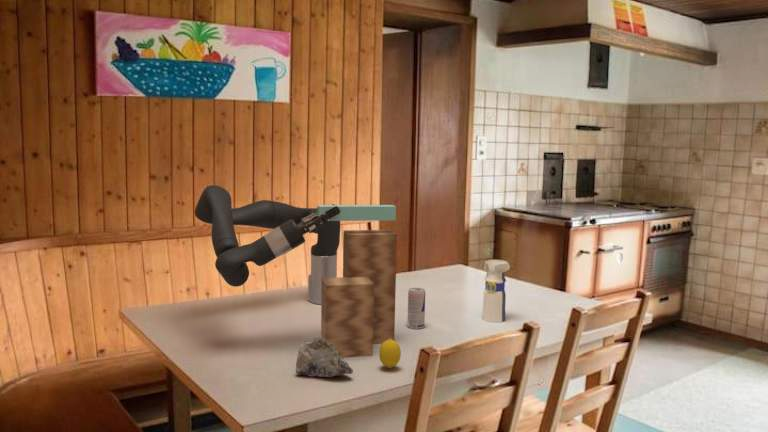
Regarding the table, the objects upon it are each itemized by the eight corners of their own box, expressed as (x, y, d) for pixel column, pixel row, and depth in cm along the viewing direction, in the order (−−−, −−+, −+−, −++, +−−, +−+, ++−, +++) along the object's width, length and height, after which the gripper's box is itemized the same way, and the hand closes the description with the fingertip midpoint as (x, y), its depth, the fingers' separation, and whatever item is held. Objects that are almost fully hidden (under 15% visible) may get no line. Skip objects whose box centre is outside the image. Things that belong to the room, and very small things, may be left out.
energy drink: (426, 325, 209) (427, 288, 207) (421, 330, 204) (422, 292, 202) (410, 323, 210) (411, 286, 209) (405, 328, 205) (406, 290, 204)
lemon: (378, 364, 173) (378, 335, 172) (399, 364, 173) (399, 335, 172) (379, 372, 167) (380, 342, 166) (401, 372, 168) (402, 342, 167)
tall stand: (346, 345, 188) (348, 234, 184) (342, 336, 196) (343, 230, 191) (394, 342, 191) (396, 234, 187) (387, 334, 199) (390, 229, 195)
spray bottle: (501, 324, 212) (505, 248, 208) (477, 319, 216) (480, 245, 213) (510, 318, 218) (514, 244, 215) (487, 314, 223) (490, 241, 220)
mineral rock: (355, 379, 162) (356, 340, 161) (319, 390, 156) (319, 349, 154) (325, 364, 172) (326, 327, 171) (290, 373, 165) (290, 335, 164)
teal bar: (319, 221, 183) (319, 206, 183) (317, 219, 187) (317, 205, 187) (395, 220, 188) (396, 206, 188) (392, 218, 192) (392, 204, 192)
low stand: (325, 358, 177) (326, 285, 174) (321, 347, 186) (321, 278, 183) (372, 355, 180) (374, 284, 177) (366, 344, 189) (367, 276, 186)
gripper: (279, 231, 176) (335, 199, 178) (276, 223, 190) (327, 193, 192) (293, 254, 178) (348, 222, 180) (288, 245, 191) (339, 215, 194)
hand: (337, 208), depth 186 cm, fingers closed on teal bar, 4 cm apart
